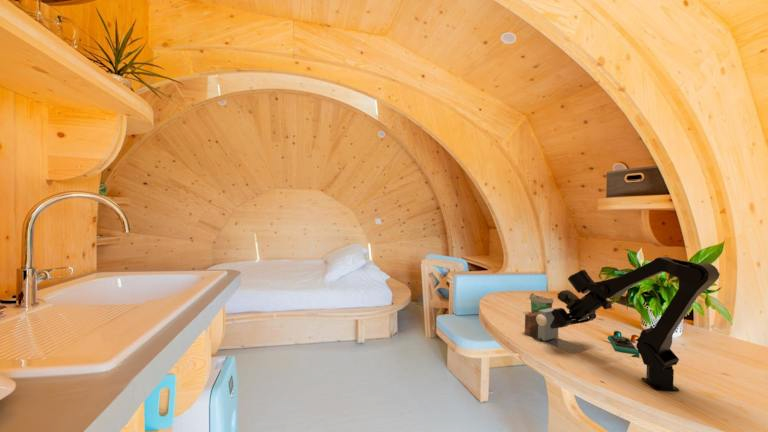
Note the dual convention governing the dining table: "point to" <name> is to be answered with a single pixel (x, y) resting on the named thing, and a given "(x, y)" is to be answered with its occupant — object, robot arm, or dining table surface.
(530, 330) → the brown wooden square slab
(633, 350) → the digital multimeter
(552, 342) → the base
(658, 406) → the dining table surface
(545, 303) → the food container
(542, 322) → the gauge carriage
